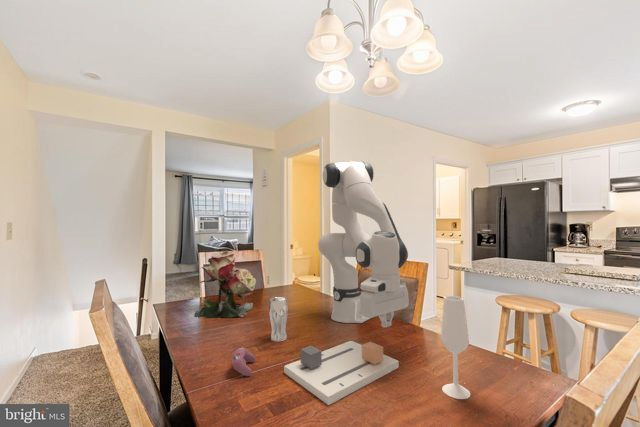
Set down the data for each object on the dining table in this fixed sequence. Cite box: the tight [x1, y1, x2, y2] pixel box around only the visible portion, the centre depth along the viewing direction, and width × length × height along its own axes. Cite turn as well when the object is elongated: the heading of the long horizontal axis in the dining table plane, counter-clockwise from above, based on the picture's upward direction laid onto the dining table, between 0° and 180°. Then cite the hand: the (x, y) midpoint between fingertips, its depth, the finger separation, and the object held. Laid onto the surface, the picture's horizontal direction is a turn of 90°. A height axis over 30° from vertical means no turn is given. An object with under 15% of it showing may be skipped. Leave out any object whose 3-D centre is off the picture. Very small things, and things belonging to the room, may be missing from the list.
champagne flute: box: [440, 295, 471, 400], centre depth 76 cm, size 7×7×24 cm
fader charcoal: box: [300, 345, 322, 369], centre depth 86 cm, size 4×5×4 cm
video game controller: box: [231, 347, 257, 377], centre depth 88 cm, size 10×5×7 cm, turn 5°
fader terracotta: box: [361, 341, 384, 364], centre depth 88 cm, size 4×5×4 cm
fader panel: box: [283, 340, 400, 406], centre depth 87 cm, size 28×20×2 cm
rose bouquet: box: [194, 250, 257, 319], centre depth 149 cm, size 26×29×30 cm
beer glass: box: [268, 296, 289, 343], centre depth 111 cm, size 7×7×15 cm
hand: (386, 326), depth 92 cm, fingers closed
